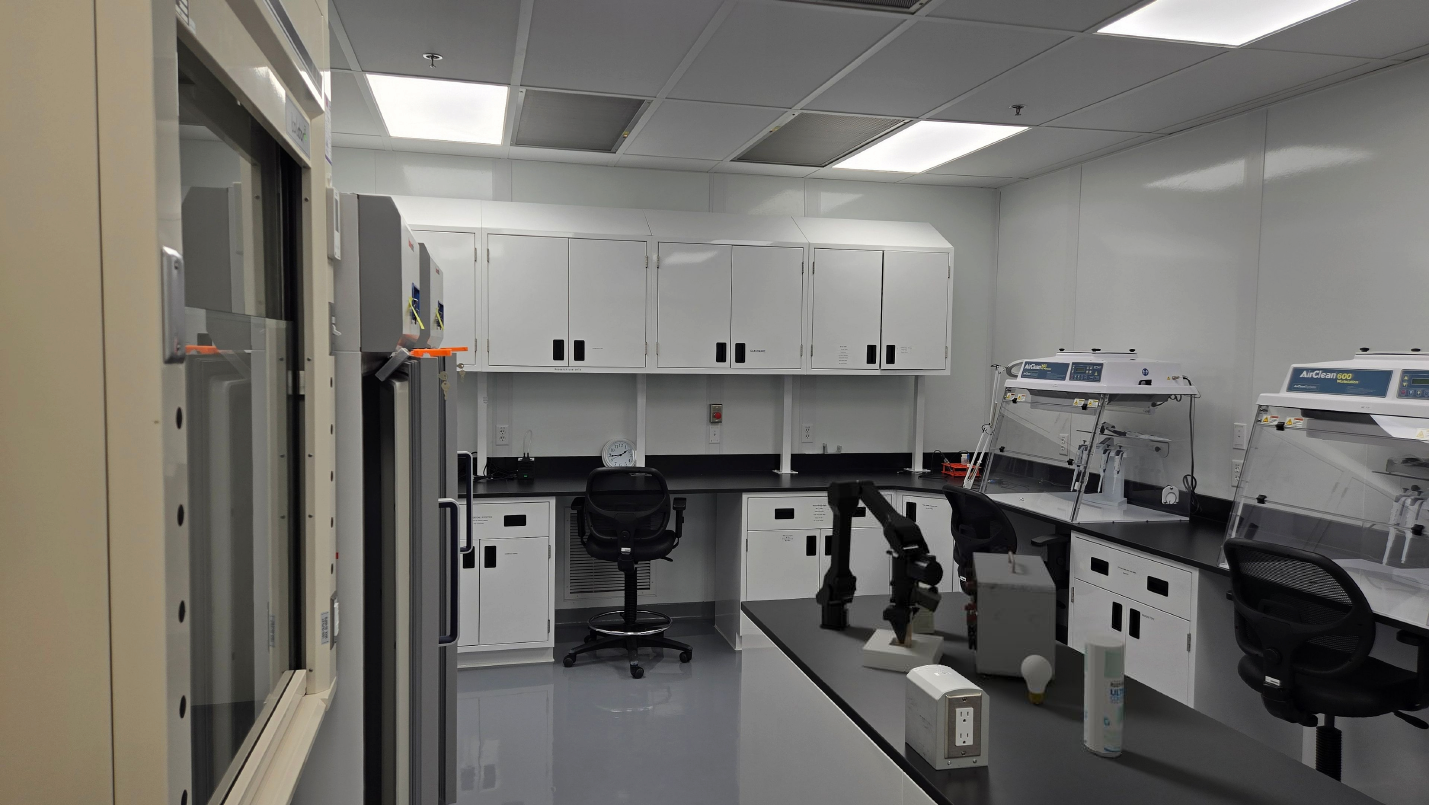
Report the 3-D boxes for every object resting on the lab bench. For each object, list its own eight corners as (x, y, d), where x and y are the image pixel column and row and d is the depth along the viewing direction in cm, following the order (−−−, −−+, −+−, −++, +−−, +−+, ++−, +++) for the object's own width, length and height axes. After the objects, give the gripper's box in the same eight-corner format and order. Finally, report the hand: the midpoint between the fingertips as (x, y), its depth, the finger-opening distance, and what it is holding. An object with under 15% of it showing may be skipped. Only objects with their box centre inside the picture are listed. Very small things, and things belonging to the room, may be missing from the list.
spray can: (1111, 761, 143) (1112, 649, 142) (1076, 748, 148) (1077, 639, 148) (1129, 751, 147) (1131, 642, 146) (1095, 738, 152) (1096, 632, 151)
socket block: (862, 665, 190) (862, 648, 190) (877, 644, 204) (877, 628, 204) (932, 676, 183) (932, 658, 183) (943, 653, 198) (943, 637, 198)
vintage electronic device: (963, 634, 212) (964, 539, 211) (1038, 640, 207) (1039, 543, 206) (967, 679, 181) (968, 568, 180) (1054, 688, 176) (1056, 573, 175)
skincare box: (931, 628, 217) (932, 583, 216) (934, 634, 212) (934, 587, 212) (907, 628, 217) (907, 582, 217) (909, 633, 213) (909, 587, 213)
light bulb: (1050, 700, 170) (1051, 652, 169) (1052, 711, 164) (1053, 662, 164) (1020, 696, 172) (1020, 649, 171) (1021, 707, 166) (1021, 659, 166)
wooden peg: (894, 657, 193) (894, 615, 193) (897, 652, 196) (897, 611, 196) (910, 659, 192) (910, 617, 191) (912, 654, 195) (913, 613, 194)
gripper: (932, 589, 181) (931, 658, 182) (944, 570, 198) (944, 633, 199) (882, 584, 186) (882, 651, 187) (898, 566, 203) (898, 628, 204)
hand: (903, 641), depth 194 cm, fingers closed on wooden peg, 4 cm apart
